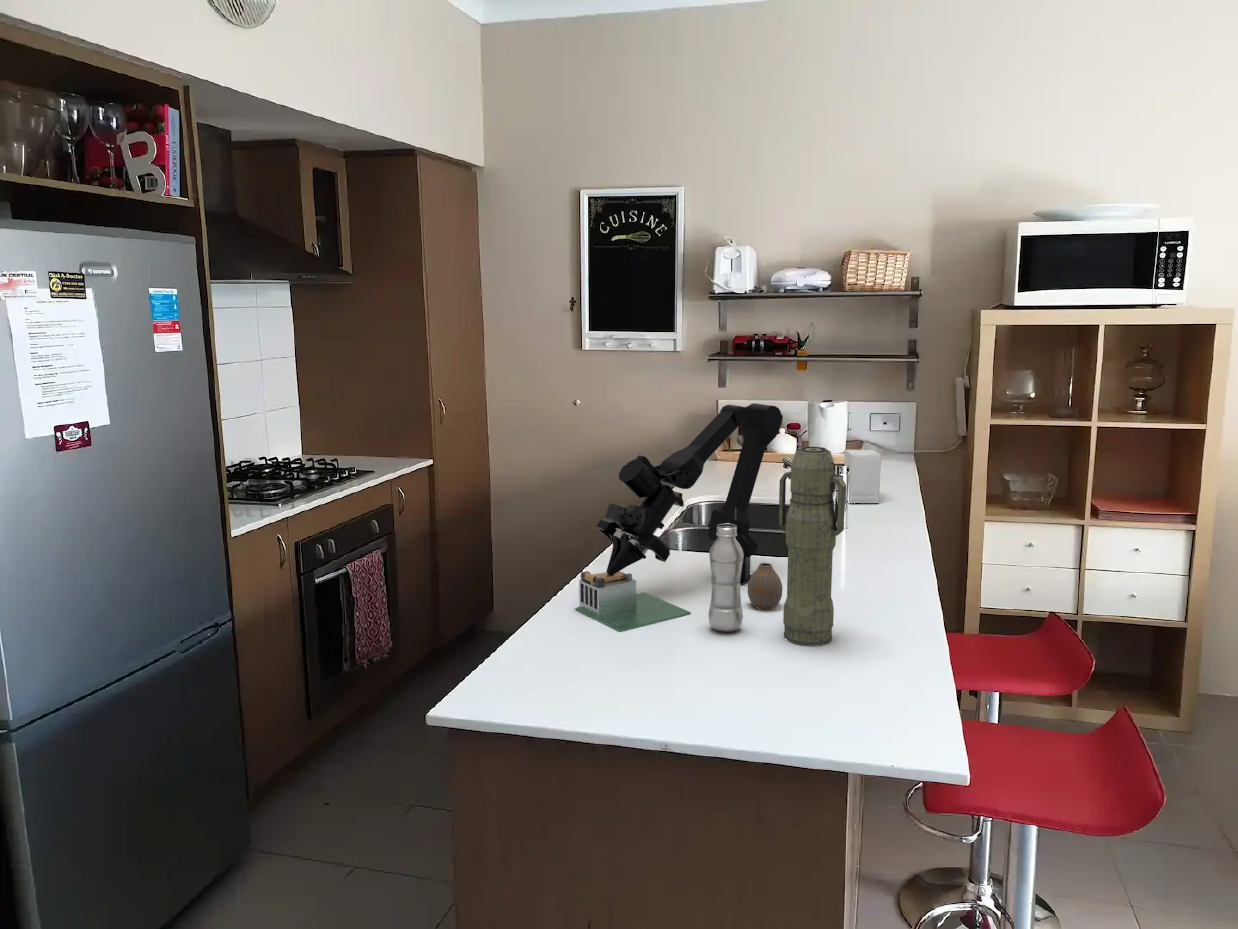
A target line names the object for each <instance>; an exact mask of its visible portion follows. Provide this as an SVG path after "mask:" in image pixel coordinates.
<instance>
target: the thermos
mask: <svg viewBox="0 0 1238 929" xmlns="http://www.w3.org/2000/svg"><path fill="white" fill-rule="evenodd" d="M790 464H791V465H790V471H786V472H784V473H783V475H782V476H781V477H780V479H779V487H778V488H779V489H778V490H779V493H778V494H779V495H778V496H779V497H778V524H779V529H782V530H783V532H785V544H786V547H787V548H788V549H787V581H786V582H787V583H786V599H785V601H784V605H783V612H782V613H783V616H782V618H783V619H782V621H783V622H782V623H783V626H784V629H783V630H784V631H783V638H784V639H785V638H786V639H787V640H788V641H787V640H786V639H785V640H786V641H787V642H789V643H791V644H794V645H798V644H802V645H801V646H804V645H813V646H812V647H815V646H814V645H820V646H823V645H822V644H824V645H827V644H829V643H830V641H831V642H832V640H833V633H832V631H833V627H834V615H835V614H834V612H835V611H834V602H833V599H832V583H833V582H832V581H833V555H834V553H833V552H834V549H835V547H836V543H837V542H836V541H837V536H839V535H840V534H841V533H842V532H843V531H845V513H846V512H845V511H846V484H845V482H844V478H842V477H840V476H837V475H836V474H835V470H836V468H835V467H836V466H835V462H834V458H833V455H832V452H831V451H830V450H828V448H826V447H822V446H821V447H820V446H802V447H800V448H799V449H796V450H795V453H794V455H793V458H792V461H791V463H790ZM787 479H788V480H790V493H791V495H790V497H791V498H790V499H789V507H788V508H787V509H788V510H787V512H786V490H787V488H786V486H787V483H786V482H787ZM835 484H836V486H837V489H838V490H837V510H836V511H837V512H836V511H835V508H834V506H835V505H834V502H835V501H834V498H833V496H834V495H833V494H834V492H835ZM836 513H837V514H836ZM831 639H832V640H831Z"/></svg>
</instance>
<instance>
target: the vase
mask: <svg viewBox="0 0 1238 929" xmlns="http://www.w3.org/2000/svg"><path fill="white" fill-rule="evenodd" d="M751 575H752V576H751V577H750V580H748V583H747V595H748V599H749V602H751V604H752V605H753V607H754V608H756V607H757V608H756V609H759V608H760V610H772V608H773V609H774V608H776V607H777V606H778V604H780V602H781V599H782V596H783V582H782V580H781V577H780V576H779V575H778V573H777V571H775V569H774V567H773V565H772V564H771V563H769V562H761V563H759V565H758V567H757V568H756V569H755V571H754V572H753V573H752V574H751Z"/></svg>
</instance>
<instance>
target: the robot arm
mask: <svg viewBox="0 0 1238 929" xmlns="http://www.w3.org/2000/svg"><path fill="white" fill-rule="evenodd" d="M783 417H784V415H783V414H782V412H781V409H780V408H779V407H778V406H775V405H769V404H763V403H755V402H754V403H750V404H748V405H747V406H741V405H735V404H726V405H724V406H722V407H721V409H720V412H719V413H718V414H717V415H716V416H715V417H714V418H713V419H712V420H711V421H710V422H709V423H708V424H707V425H706V426H705V428H704V429H703V430H702V431H701V432H700V433H699V434H698V435H697V436H696V437H695V438H694V439H693V440H692V441H691V442H690V443H689V444H688V445H687V446H686V447H684V448H681V449H680V450H677V451H675V452H673V453H671V455H669V456H668V457H667V458H665V459H664V460H663V461H662V462H661V463H660V464H657V465H655V466H654V465H653V464H652V463H651V462H650V460H649V459H648V458H647V457H646V456H644V455H640V454H639V455H638V456H637V457H636V458H634V459H632V460H630V461H629V462H627V463H626V464H623V466H622V467H621V469H620V471H619V474H618V479H619V481H620V482H622V484H623V485H625V487H626V488H627V489H628V490H629V491H631V493H632V494H634V496H636V497H637V498H639V499H642V500H641V501H640V503H639V505H636V504H629V505H627V507H624V506H621V505H619V504H615V503H612V502H609V504H608V505H607V509H606V512H605V515H604V518H602V519H600V520H599V521H598V523H597V524H596V526H595V528H596V529H597V530H598V531H599V532H600V533H601V534H602V535H604V537H605V538H607V539H608V540H609V541H610V542H611V543H612V549H611V554H610V557H609V562H608V565H607V568H606V572H607V573H608V574H609V575H613V574H615V573H617V572H619V571H620V572H621V571H622V570H624V569H626V568H627V567H629V566H630V565H632V564H635V563H637V562H638V561H640V560H642V559H644V560H645V559H646V558H647V555H646V554H647V552H648V550H649V551H652V552H653V554H654V558H655V559H656V560H658V561H661V562H663V563H666V561H667V560H668V558H669V557H670V555H671V549H670V547H669V546H668V544H666V543H665V542H664V541H663V540H662V539H661V538H660V537H659V536H657V535H656V534H655V533H656V531H657V529H659V530H663V528H664V527H665V524H664V523H663V520H664V519H665V518H666V516H667V515H668V513H669V512H670V510H671V509H672V507H673V506H678V507H681V508H683V507H684V506H685V504H684V499H683V493H682V492H678V491H675V490H674V489H673V488H672V487H674V488H678V489H681V490H690V489H691V488H692V487H694V486H695V484H696V483H697V481H698V479H700V476H702V474H703V470H704V465H705V463H706V462H707V461H708V459H709V458H710V457H711V456H712V455H713V454H714V453H715V452H716V451H717V450H718V449H719V447H721V446H722V445H723V443H725V441H726V440H727V439H728V438H729V437H730V436H731V435H732V434H733V433H734V431H735V430H737V429H738V428H739V427H740V430H741V434H742V438H743V439H742V440H743V442H742V446H741V450H740V453H739V455H738V460H737V463H736V467H735V470H734V473H733V476H732V478H731V483H730V486H729V490H728V493H727V496H726V500H725V502H724V504H723V506H722V507H721V508H719V510H718V509H715V508H714V509H713V510H712V512H711V516H710V520H709V523H708V524H707V526H706V527H707V528H708V532H707V535H708V537H709V539H710V541H711V543H712V545H713V544H714V543H715V541H716V540H717V539H718V536H716V533H717V525H719V524H734V525H736V527H737V536H736V537H735V538H736V540H737V541H738V543H739V544H740V546H741V548H742V550H743V554H744V556H743V564H742V570H741V581H740V585H745V584H746V583H747V582H749V580H750V577H751V576H752V574H751V558H752V556H755V555H756V553H757V550H758V547H759V545H758V544H757V543H756V542H755V541H754V540H753V539H752V537H751V536H750V535H749V532H750V525H751V524H750V519H749V514H748V509H749V504H750V502H751V498H752V495H753V491H754V488H755V486H756V485H755V484H756V481H757V480H758V479H757V478H758V474H759V472H760V468H761V465H762V461H763V457H764V455H765V451H766V449H767V447H768V446H769V445H770V444H771V442H773V440H775V439H776V437H777V436H778V433H779V431H780V429H781V426H782V423H783V419H784V418H783ZM606 572H605V573H606Z"/></svg>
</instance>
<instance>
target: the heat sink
mask: <svg viewBox="0 0 1238 929" xmlns="http://www.w3.org/2000/svg"><path fill="white" fill-rule="evenodd" d="M585 573H590V574H592V573H591V572H590V571H587V570H586V571H581V572H580V579H578V590H579V592H578V595H579V596H578V599H579V602H578V603H579V606H578V607H575V611H577V612H579V613H581V614H583V615H584V616H587V617H589V618H591V619H593V620H595V619H596V620H595V621H597V620H598V621H597V622H599V623H601V624H603V625H605V626H606V627H609V626H610V627H609V628H611V629H612V630H615V631H616V632H619V633H622V632H625V631H629V630H634V629H637V628H640V627H641V628H642V627H645V626H649V625H652V624H656V623H661V622H665V621H668V620H672V619H676V618H681V617H684V616H689V615H691V613H692V612H691V611H689V610H686V609H685V608H681V607H679V606H678V605H675V604H673V603H670V602H668V601H665V600H663V599H661V598H659V597H656V596H654V595H651V594H649V593H647V592H644V591H643V592H639V593H637V579H634V578H633V573H630V572H629V573H625V574H626V579H619V580H611V581H605V579H604V578H602V577H600V578H595V583H592V582H590V581H588V580H585Z"/></svg>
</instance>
